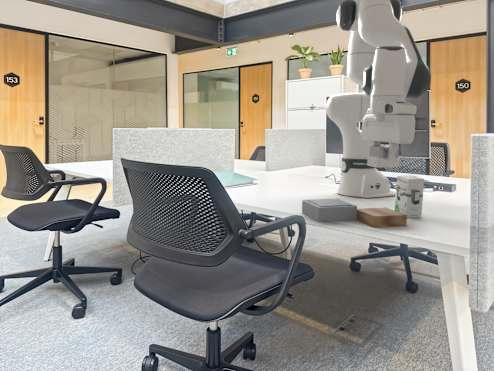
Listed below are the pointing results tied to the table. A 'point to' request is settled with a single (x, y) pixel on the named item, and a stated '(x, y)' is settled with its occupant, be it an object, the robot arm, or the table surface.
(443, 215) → the table surface
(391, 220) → the walnut stand
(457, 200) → the table surface
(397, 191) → the ink box
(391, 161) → the housing
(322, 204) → the grey riser
